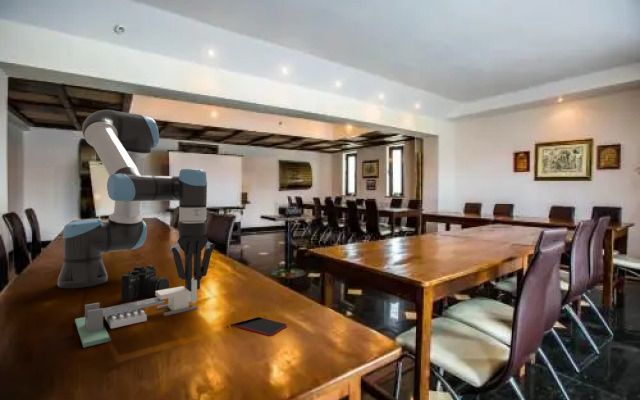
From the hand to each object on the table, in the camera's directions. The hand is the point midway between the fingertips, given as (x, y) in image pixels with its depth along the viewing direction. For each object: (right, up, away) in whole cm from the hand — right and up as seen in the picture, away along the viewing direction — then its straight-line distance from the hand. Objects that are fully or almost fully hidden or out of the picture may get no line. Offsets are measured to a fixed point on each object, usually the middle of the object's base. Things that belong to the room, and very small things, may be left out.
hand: (192, 301), depth 99 cm
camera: (-18, -2, +9) cm, 21 cm away
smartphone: (+21, -4, -11) cm, 24 cm away
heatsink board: (-10, -2, -9) cm, 14 cm away
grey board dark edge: (-13, +1, -11) cm, 17 cm away
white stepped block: (-4, -1, -4) cm, 6 cm away
